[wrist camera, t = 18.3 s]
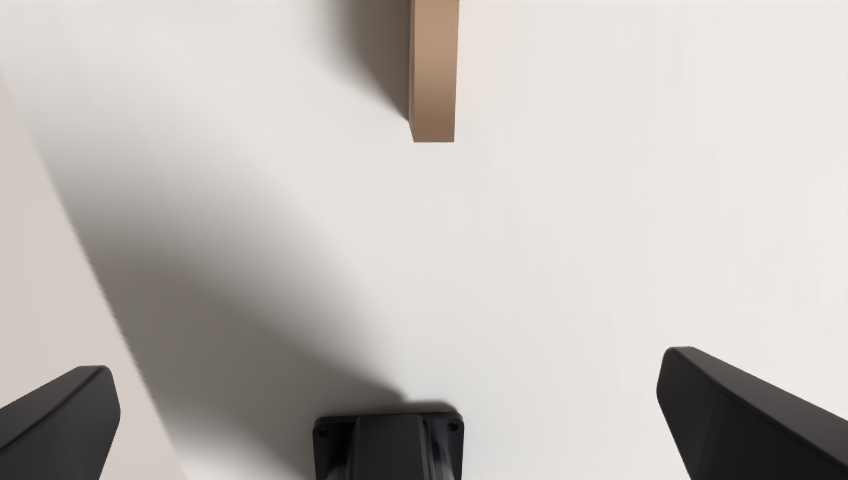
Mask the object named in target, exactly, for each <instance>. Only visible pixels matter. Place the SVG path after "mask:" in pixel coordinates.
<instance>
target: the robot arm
mask: <svg viewBox="0 0 848 480" xmlns="http://www.w3.org/2000/svg"><path fill="white" fill-rule="evenodd" d="M656 393H657V399H658V402H659V405H660V407H661V410H662V412H663V415H664V417H665V419H666V422H667V424H668V427H669V429H670V431H671V434H672V436H673V439H674V441H675V443H676V446H677V448H678V451H679V453H680V455H681V458H682V460H683V462H684V465H685V467H686V470H687V472H688V474H689V476H690V478H691V480H848V421H847V420H845V419H843V418H841V417H839V416H837V415H835V414H833V413H831V412H828V411H826V410H824V409H822V408H820V407H818V406H816V405H814V404H812V403H810V402H807V401H805V400H803V399H801V398H799V397H797V396H795V395H793V394H791V393H789V392H787V391H784V390H782V389H780V388H778V387H776V386H774V385H772V384H770V383H768V382H766V381H764V380H761V379H759V378H757V377H755V376H753V375H751V374H749V373H747V372H745V371H743V370H741V369H738V368H736V367H734V366H732V365H730V364H728V363H726V362H724V361H722V360H720V359H718V358H715V357H713V356H711V355H709V354H707V353H705V352H703V351H701V350H699V349H697V348H694V347H690V346H688V347H670V348H668V349H667V350H666V351H665V353H664V356H663V360H662V364H661V369H660V373H659V378H658V382H657V388H656ZM119 421H120V405H119V401H118V396H117V393H116V389H115V385H114V380H113V376H112V373H111V371H110V369H109V368H108V367H106V366H104V365H102V366H101V365H100V366H79V367H76V368H74V369H73V370H71V371H69V372H67V373H65V374H63V375H62V376H60V377H58V378H56V379H54V380H52V381H51V382H49V383H47V384H45V385H43V386H41V387H39V388H38V389H36V390H34V391H32V392H30V393H28V394H27V395H25V396H23V397H21V398H19V399H17V400H16V401H14V402H12V403H10V404H8V405H6V406H4V407H3V408H1V409H0V480H99V478H100V475H101V472H102V469H103V467H104V464H105V461H106V458H107V456H108V453H109V450H110V447H111V444H112V441H113V439H114V436H115V433H116V430H117V427H118V425H119ZM450 423H456V424H455V425H448V424H450ZM322 428H327V429H329V430H327V431H323V430H321V429H322ZM463 440H464V423H463V418H462V416H461V415H460V414H459V413H457V412H433V413H409V414H385V415H360V416H336V417H322V418H319V419H317V420H316V421H315V423H314V426H313V446H314V458H315V471H316V480H461V476H462V458H463Z"/></svg>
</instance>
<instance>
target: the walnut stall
mask: <svg viewBox="0 0 848 480" xmlns="http://www.w3.org/2000/svg"><path fill="white" fill-rule="evenodd" d="M458 19H459V0H409V125H410V129H411V133H412V137H413V140H414V142H454V126H455V99H456V72H457V45H458Z"/></svg>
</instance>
